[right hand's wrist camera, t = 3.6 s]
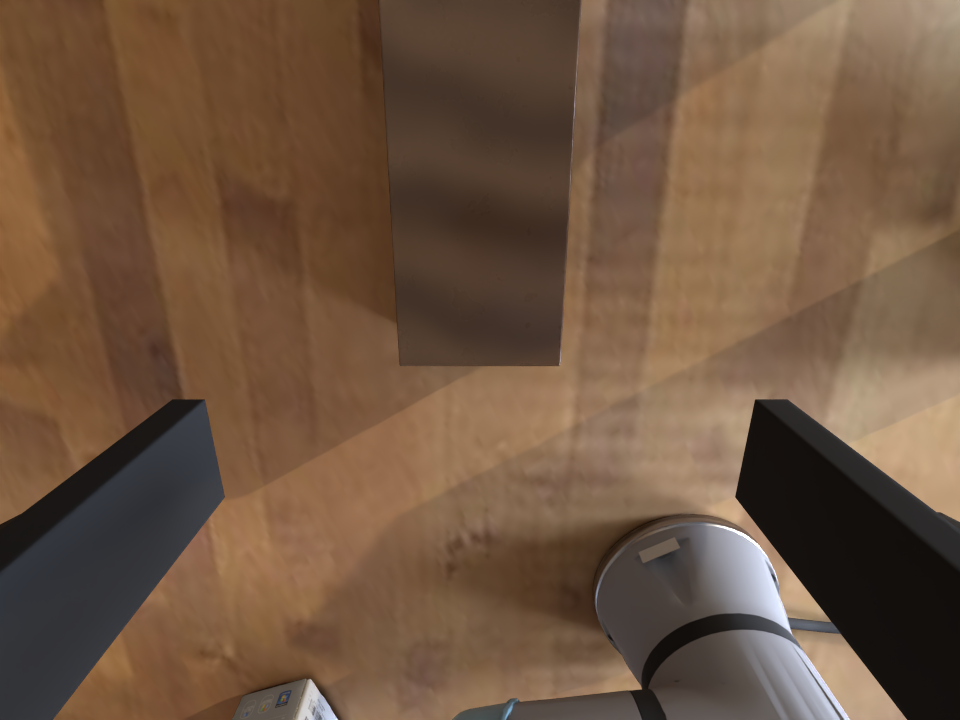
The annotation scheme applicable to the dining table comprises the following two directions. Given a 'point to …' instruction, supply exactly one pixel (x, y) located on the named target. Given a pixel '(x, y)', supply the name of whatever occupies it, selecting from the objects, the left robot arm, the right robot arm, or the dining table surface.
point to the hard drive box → (285, 703)
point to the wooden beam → (479, 175)
